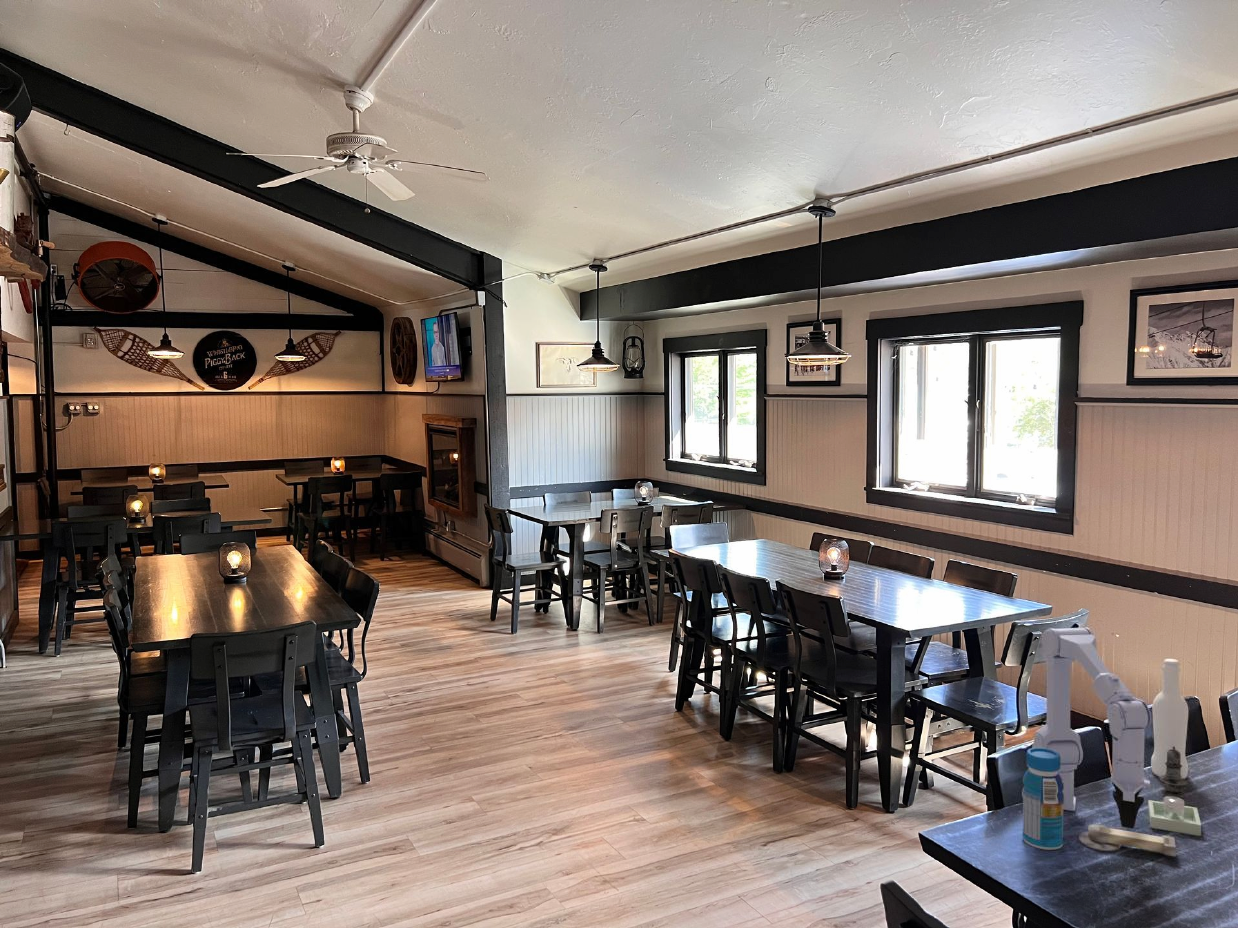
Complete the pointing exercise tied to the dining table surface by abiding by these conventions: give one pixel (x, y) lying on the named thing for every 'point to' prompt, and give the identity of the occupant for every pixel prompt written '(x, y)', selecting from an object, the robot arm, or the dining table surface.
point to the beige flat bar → (1132, 839)
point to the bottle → (1169, 720)
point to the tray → (1187, 826)
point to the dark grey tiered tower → (1173, 776)
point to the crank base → (1097, 843)
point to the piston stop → (1173, 808)
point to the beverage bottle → (1043, 800)
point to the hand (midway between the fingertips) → (1127, 821)
